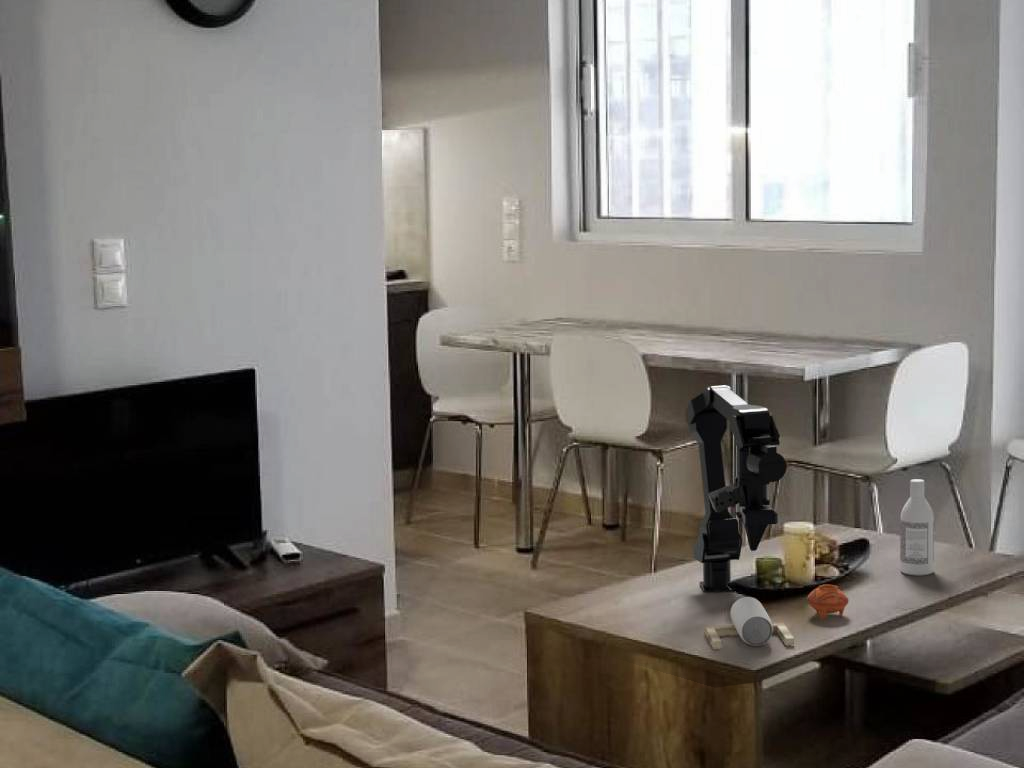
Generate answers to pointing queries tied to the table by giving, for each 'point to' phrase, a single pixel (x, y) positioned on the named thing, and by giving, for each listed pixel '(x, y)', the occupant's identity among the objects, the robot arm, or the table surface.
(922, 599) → the table surface
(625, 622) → the table surface
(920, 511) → the bath foam
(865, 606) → the table surface
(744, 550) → the table surface
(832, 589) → the pot
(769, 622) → the can
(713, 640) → the cradle
